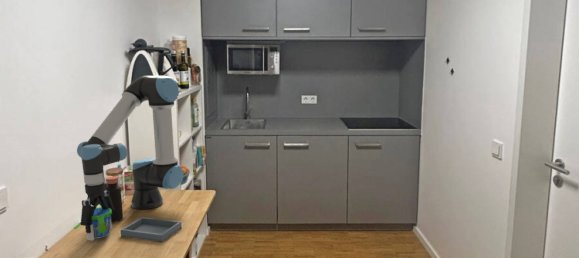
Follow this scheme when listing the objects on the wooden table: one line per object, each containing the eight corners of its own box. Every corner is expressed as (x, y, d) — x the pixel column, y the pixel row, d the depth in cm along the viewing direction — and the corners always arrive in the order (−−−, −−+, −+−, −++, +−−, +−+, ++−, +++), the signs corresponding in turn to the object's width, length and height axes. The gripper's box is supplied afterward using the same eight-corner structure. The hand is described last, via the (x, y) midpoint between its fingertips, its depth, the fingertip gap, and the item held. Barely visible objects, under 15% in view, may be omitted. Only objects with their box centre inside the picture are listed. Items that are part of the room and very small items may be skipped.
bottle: (113, 216, 212) (109, 175, 209) (126, 217, 211) (122, 176, 207) (104, 221, 206) (100, 179, 202) (117, 222, 205) (114, 180, 201)
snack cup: (85, 230, 192) (83, 207, 190) (112, 225, 197) (109, 203, 195) (87, 244, 178) (84, 220, 176) (115, 239, 183) (113, 215, 181)
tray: (142, 223, 204) (142, 217, 203) (181, 228, 198) (181, 221, 197) (121, 236, 189) (120, 229, 189) (162, 242, 184) (162, 235, 183)
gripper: (105, 174, 195) (110, 222, 199) (66, 190, 174) (72, 244, 178) (120, 175, 193) (125, 224, 197) (81, 192, 171) (88, 247, 176)
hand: (100, 234), depth 187 cm, fingers closed on snack cup, 10 cm apart
